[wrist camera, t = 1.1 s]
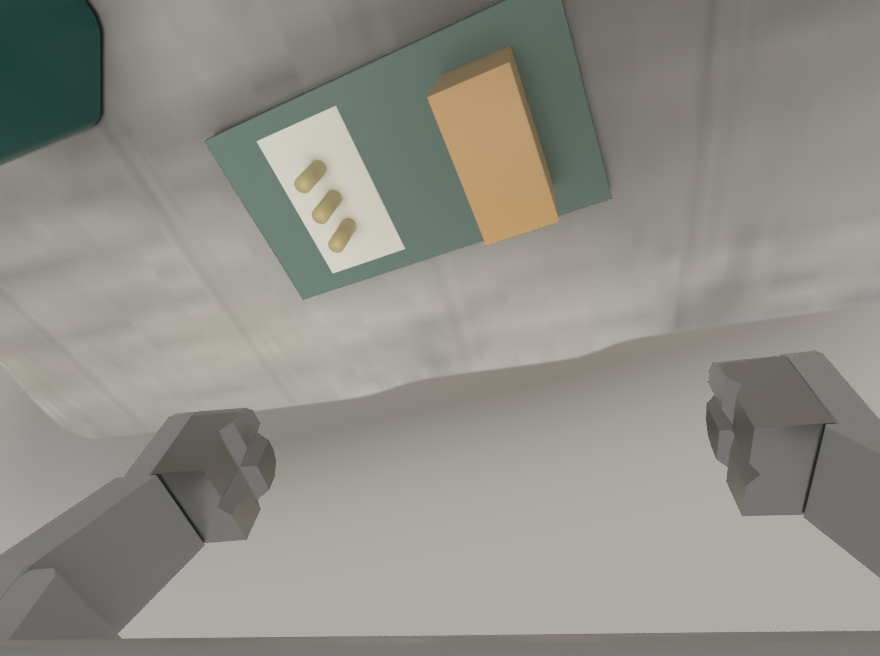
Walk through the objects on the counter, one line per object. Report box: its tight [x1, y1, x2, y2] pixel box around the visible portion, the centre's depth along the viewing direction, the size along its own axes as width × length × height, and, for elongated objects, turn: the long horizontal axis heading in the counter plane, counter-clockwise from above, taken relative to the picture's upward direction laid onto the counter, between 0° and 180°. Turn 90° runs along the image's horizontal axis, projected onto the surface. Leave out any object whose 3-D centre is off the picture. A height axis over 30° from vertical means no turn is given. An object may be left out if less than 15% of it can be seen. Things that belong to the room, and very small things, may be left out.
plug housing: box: [427, 46, 560, 245], centre depth 29 cm, size 4×8×6 cm, turn 23°
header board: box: [204, 0, 612, 300], centre depth 32 cm, size 22×12×5 cm, turn 113°
